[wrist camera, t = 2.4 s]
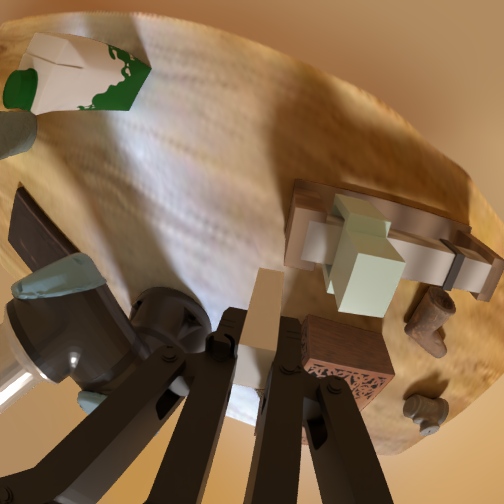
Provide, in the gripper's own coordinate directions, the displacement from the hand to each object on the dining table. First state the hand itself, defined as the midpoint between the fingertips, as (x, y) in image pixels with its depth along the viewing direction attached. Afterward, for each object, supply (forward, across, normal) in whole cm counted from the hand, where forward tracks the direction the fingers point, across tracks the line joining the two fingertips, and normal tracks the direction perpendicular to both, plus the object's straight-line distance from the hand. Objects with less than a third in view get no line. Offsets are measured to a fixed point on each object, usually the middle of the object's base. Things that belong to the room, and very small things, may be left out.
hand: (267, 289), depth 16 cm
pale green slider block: (+16, -8, 0) cm, 18 cm away
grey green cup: (+21, +51, -10) cm, 56 cm away
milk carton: (+21, +25, -16) cm, 36 cm away
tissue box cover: (+21, -13, +30) cm, 39 cm away
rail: (+21, -16, 0) cm, 26 cm away
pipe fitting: (+21, -44, +38) cm, 62 cm away
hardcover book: (+21, +48, +15) cm, 55 cm away
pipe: (+22, -31, +14) cm, 40 cm away
